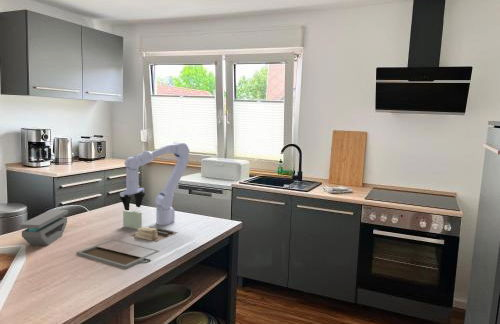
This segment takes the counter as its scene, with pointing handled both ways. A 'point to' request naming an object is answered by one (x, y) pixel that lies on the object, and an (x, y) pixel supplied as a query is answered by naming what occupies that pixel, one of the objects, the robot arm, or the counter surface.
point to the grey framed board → (114, 256)
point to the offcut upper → (147, 231)
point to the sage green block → (132, 219)
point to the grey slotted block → (45, 227)
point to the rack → (160, 234)
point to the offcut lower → (146, 236)
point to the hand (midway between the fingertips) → (132, 208)
